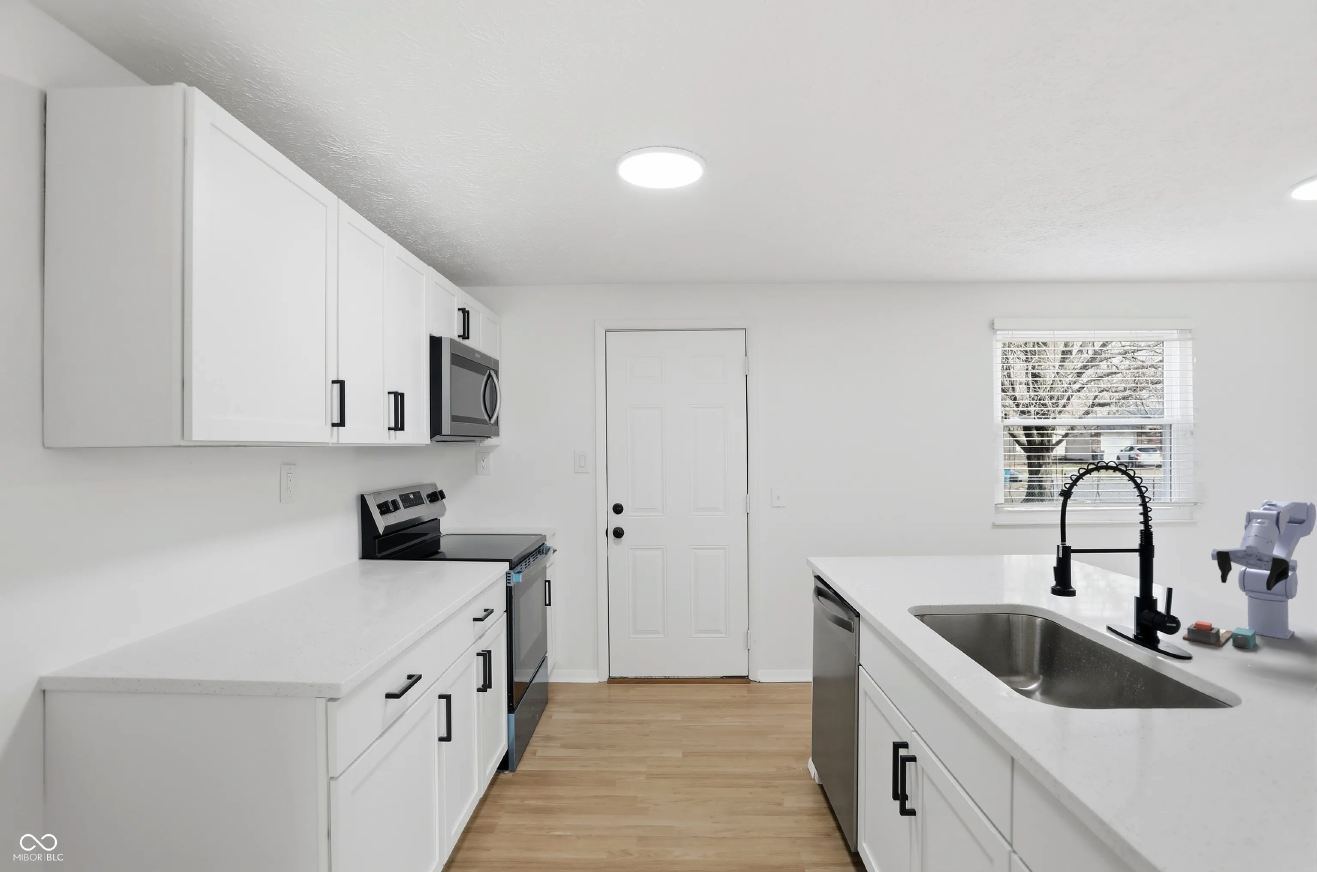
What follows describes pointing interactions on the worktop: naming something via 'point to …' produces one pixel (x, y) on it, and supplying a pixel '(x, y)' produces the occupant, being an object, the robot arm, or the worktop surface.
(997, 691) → the worktop surface
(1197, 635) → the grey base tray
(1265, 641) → the worktop surface
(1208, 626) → the button
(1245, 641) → the teal block
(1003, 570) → the worktop surface
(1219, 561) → the robot arm
